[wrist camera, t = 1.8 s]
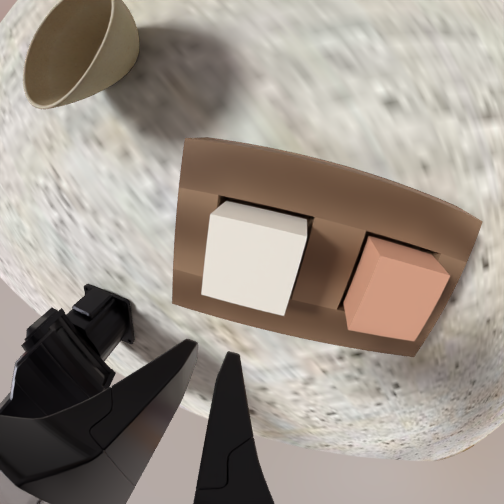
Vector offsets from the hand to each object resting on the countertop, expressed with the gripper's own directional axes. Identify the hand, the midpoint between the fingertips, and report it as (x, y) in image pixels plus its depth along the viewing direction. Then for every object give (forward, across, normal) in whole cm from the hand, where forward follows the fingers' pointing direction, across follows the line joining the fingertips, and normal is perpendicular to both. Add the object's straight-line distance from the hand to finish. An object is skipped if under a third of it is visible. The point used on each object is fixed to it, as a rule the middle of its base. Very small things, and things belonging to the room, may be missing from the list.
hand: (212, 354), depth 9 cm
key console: (+13, -4, 0) cm, 14 cm away
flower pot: (+13, +16, -13) cm, 24 cm away
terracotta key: (+10, -9, 0) cm, 13 cm away
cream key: (+10, 0, 0) cm, 10 cm away
